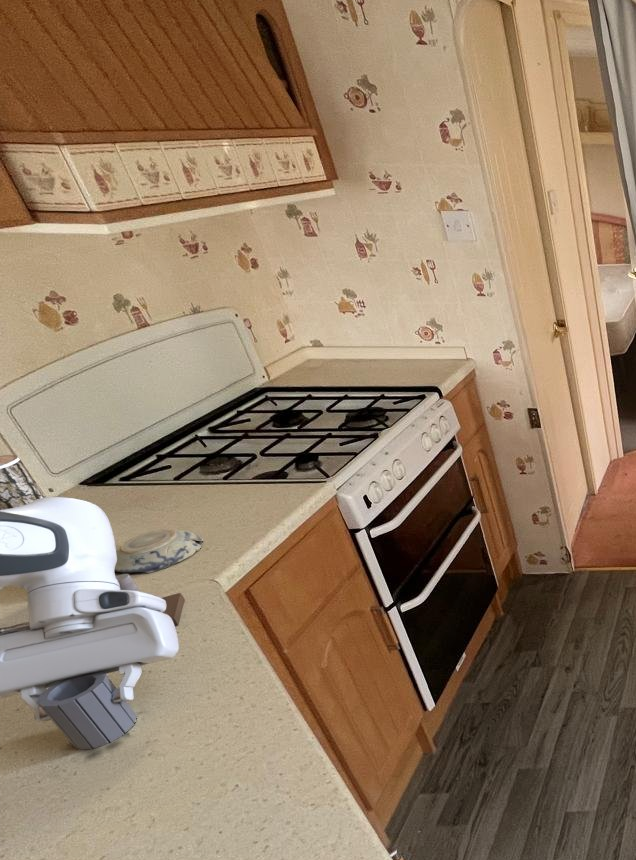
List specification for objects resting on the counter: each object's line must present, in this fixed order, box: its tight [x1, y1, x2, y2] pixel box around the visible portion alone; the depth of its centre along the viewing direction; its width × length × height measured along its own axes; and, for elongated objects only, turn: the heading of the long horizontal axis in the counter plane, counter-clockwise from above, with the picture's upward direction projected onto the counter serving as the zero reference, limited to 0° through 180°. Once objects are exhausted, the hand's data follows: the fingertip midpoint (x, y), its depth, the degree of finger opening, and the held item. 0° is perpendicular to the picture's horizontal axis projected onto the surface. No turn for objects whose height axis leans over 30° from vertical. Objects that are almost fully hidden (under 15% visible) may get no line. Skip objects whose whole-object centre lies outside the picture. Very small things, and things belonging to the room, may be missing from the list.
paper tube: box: [0, 454, 47, 510], centre depth 118 cm, size 7×7×25 cm
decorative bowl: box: [114, 528, 204, 574], centre depth 132 cm, size 15×4×15 cm
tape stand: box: [115, 573, 186, 627], centre depth 112 cm, size 9×9×9 cm
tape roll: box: [37, 671, 138, 750], centre depth 91 cm, size 7×7×8 cm
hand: (86, 710), depth 90 cm, fingers closed on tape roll, 7 cm apart
